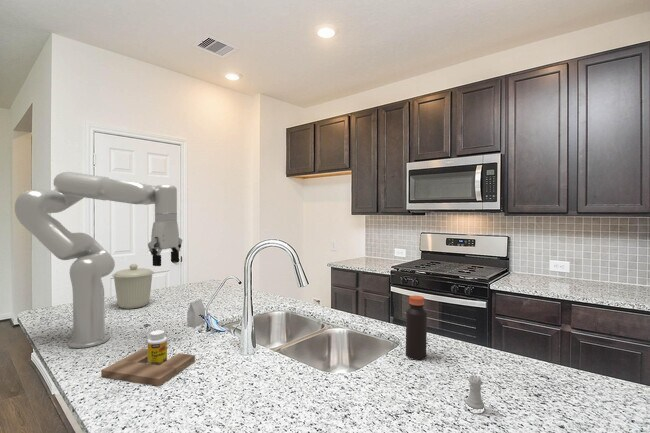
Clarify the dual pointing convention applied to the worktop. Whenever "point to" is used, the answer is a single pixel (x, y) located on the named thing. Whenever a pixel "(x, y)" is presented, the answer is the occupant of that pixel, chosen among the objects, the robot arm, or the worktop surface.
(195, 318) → the tea bag
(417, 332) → the vinegar
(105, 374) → the notched board
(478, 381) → the rook chess piece
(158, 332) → the supplement bottle
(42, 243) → the robot arm
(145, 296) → the canister
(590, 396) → the worktop surface
